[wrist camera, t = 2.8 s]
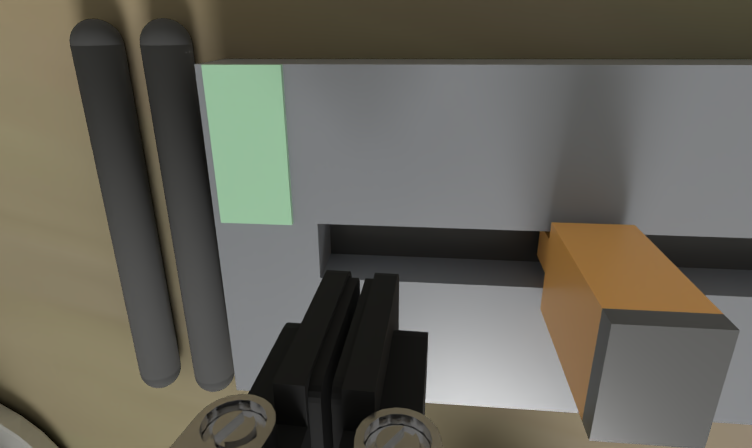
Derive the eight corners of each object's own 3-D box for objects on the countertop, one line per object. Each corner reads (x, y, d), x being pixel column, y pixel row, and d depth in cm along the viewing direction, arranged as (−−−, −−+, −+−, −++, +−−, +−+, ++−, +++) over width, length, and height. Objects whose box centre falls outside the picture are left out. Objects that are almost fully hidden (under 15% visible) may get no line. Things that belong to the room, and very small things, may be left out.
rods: (241, 376, 22) (228, 401, 21) (155, 370, 23) (135, 394, 21) (197, 18, 17) (174, 17, 16) (85, 19, 17) (52, 18, 16)
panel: (867, 388, 19) (928, 440, 17) (256, 352, 22) (235, 393, 19) (1008, 59, 15) (1117, 66, 13) (224, 59, 17) (191, 64, 15)
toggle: (597, 280, 18) (704, 448, 11) (528, 277, 18) (589, 440, 11) (610, 200, 17) (740, 330, 10) (537, 199, 17) (611, 323, 10)
